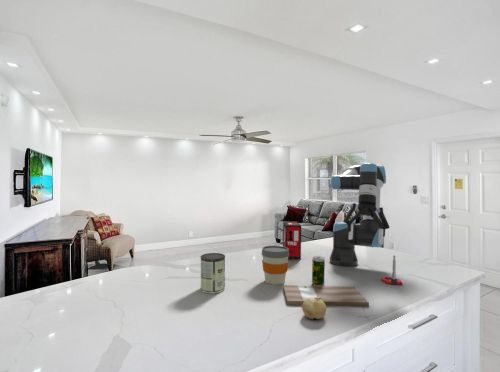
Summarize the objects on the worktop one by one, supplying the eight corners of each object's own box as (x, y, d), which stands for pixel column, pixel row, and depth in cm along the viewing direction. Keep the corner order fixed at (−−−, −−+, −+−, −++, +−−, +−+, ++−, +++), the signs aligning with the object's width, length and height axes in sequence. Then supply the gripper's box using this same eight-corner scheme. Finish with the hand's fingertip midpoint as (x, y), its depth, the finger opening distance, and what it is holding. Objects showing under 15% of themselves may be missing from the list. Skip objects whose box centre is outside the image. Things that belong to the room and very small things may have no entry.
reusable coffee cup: (292, 279, 136) (292, 247, 135) (283, 288, 124) (284, 253, 124) (267, 275, 141) (267, 244, 141) (256, 283, 130) (257, 250, 129)
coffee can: (207, 283, 129) (207, 251, 128) (228, 286, 125) (229, 254, 125) (195, 291, 119) (195, 257, 119) (218, 295, 116) (218, 260, 115)
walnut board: (283, 288, 123) (283, 284, 123) (354, 290, 123) (354, 286, 123) (287, 304, 108) (287, 300, 107) (368, 306, 107) (369, 301, 107)
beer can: (315, 281, 133) (315, 255, 133) (326, 284, 129) (326, 257, 129) (309, 284, 129) (310, 257, 129) (320, 287, 125) (321, 259, 125)
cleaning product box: (282, 252, 187) (283, 221, 186) (296, 252, 186) (297, 221, 186) (285, 259, 170) (286, 225, 170) (300, 259, 170) (301, 225, 170)
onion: (321, 325, 93) (321, 303, 93) (298, 318, 97) (298, 297, 97) (329, 315, 100) (329, 294, 99) (307, 309, 104) (307, 290, 104)
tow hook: (378, 278, 140) (384, 284, 130) (379, 251, 140) (385, 255, 131) (397, 279, 138) (404, 285, 129) (397, 252, 139) (404, 256, 130)
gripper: (343, 189, 131) (340, 236, 125) (398, 198, 131) (397, 245, 125) (338, 193, 138) (335, 238, 132) (389, 201, 138) (388, 246, 132)
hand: (365, 241), depth 129 cm, fingers open, 13 cm apart
